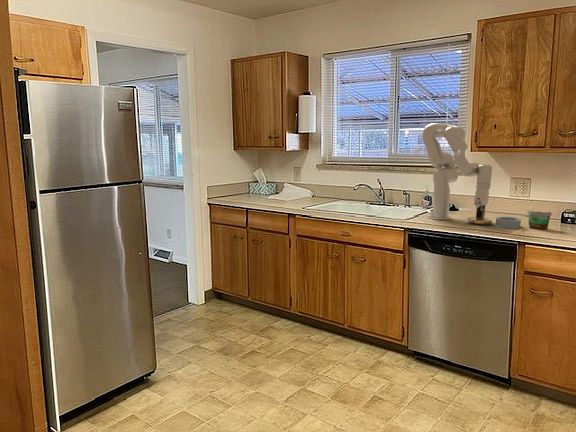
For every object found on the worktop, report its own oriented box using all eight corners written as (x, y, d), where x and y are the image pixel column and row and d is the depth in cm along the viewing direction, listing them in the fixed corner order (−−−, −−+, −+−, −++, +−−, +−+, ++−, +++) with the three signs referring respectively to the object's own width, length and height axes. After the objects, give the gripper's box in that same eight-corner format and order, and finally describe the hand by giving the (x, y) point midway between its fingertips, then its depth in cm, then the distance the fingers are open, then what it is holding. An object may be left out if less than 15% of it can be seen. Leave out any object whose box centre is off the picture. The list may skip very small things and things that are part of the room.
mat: (462, 225, 276) (462, 224, 276) (472, 221, 287) (472, 220, 287) (488, 228, 266) (488, 227, 266) (497, 224, 277) (497, 223, 277)
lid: (463, 221, 277) (465, 207, 275) (472, 218, 286) (474, 205, 285) (487, 225, 268) (488, 211, 266) (495, 221, 277) (497, 208, 276)
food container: (524, 228, 265) (526, 211, 263) (526, 227, 270) (527, 209, 269) (549, 231, 258) (551, 213, 257) (550, 229, 263) (552, 211, 262)
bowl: (493, 227, 269) (493, 218, 268) (500, 224, 278) (501, 216, 277) (515, 230, 261) (516, 221, 260) (522, 227, 270) (522, 218, 269)
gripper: (482, 183, 281) (479, 214, 285) (471, 186, 269) (468, 217, 273) (495, 185, 276) (491, 215, 280) (484, 187, 264) (481, 219, 268)
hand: (480, 216), depth 276 cm, fingers closed on lid, 3 cm apart
